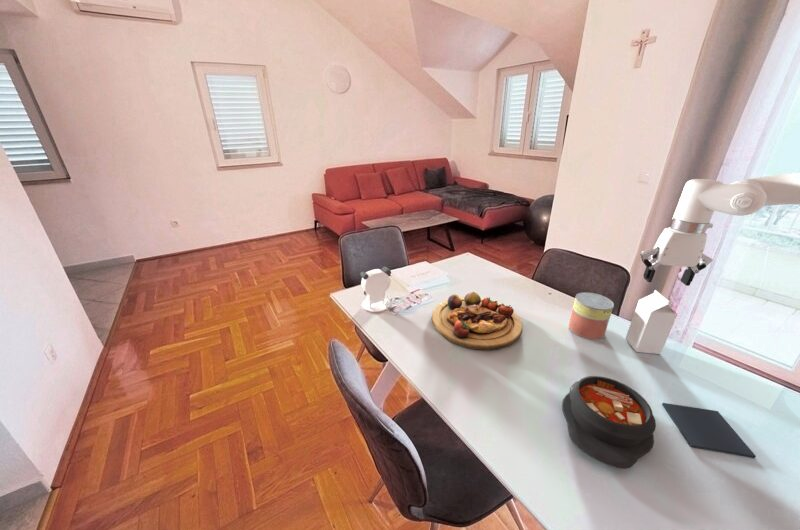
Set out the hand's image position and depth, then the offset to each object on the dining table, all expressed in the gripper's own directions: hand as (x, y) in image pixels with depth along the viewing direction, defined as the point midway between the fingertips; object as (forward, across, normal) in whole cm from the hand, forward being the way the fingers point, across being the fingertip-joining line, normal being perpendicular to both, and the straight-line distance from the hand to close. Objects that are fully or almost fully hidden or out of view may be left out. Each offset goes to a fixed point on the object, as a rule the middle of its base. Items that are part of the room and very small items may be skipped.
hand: (665, 281), depth 92 cm
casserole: (+24, +22, +35) cm, 48 cm away
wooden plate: (+24, +52, -2) cm, 58 cm away
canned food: (+24, +14, -6) cm, 28 cm away
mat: (+23, 0, +31) cm, 39 cm away
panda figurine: (+25, +92, -7) cm, 95 cm away
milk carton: (+24, 0, 0) cm, 24 cm away
